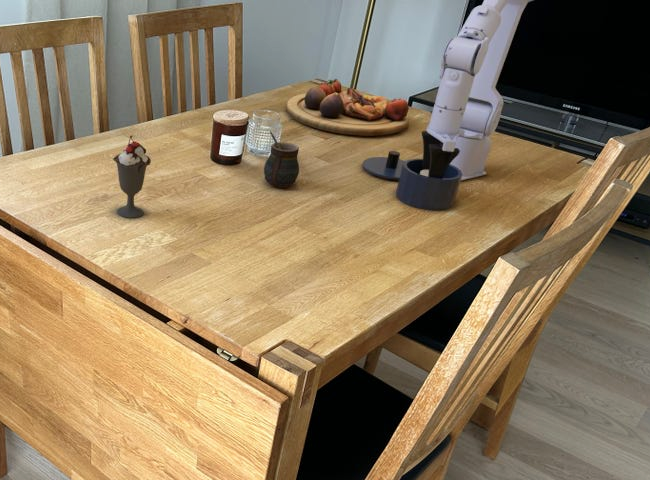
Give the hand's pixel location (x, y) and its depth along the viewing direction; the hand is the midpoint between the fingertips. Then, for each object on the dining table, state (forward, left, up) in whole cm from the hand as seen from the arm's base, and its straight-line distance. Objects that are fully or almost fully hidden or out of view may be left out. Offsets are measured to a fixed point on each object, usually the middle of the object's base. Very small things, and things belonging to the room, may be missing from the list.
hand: (430, 174), depth 146 cm
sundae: (+58, -20, -5) cm, 62 cm away
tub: (0, 0, -5) cm, 5 cm away
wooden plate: (-24, -47, -5) cm, 53 cm away
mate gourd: (+23, -19, -5) cm, 30 cm away
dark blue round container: (0, 0, -5) cm, 5 cm away
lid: (-5, -14, -4) cm, 15 cm away
